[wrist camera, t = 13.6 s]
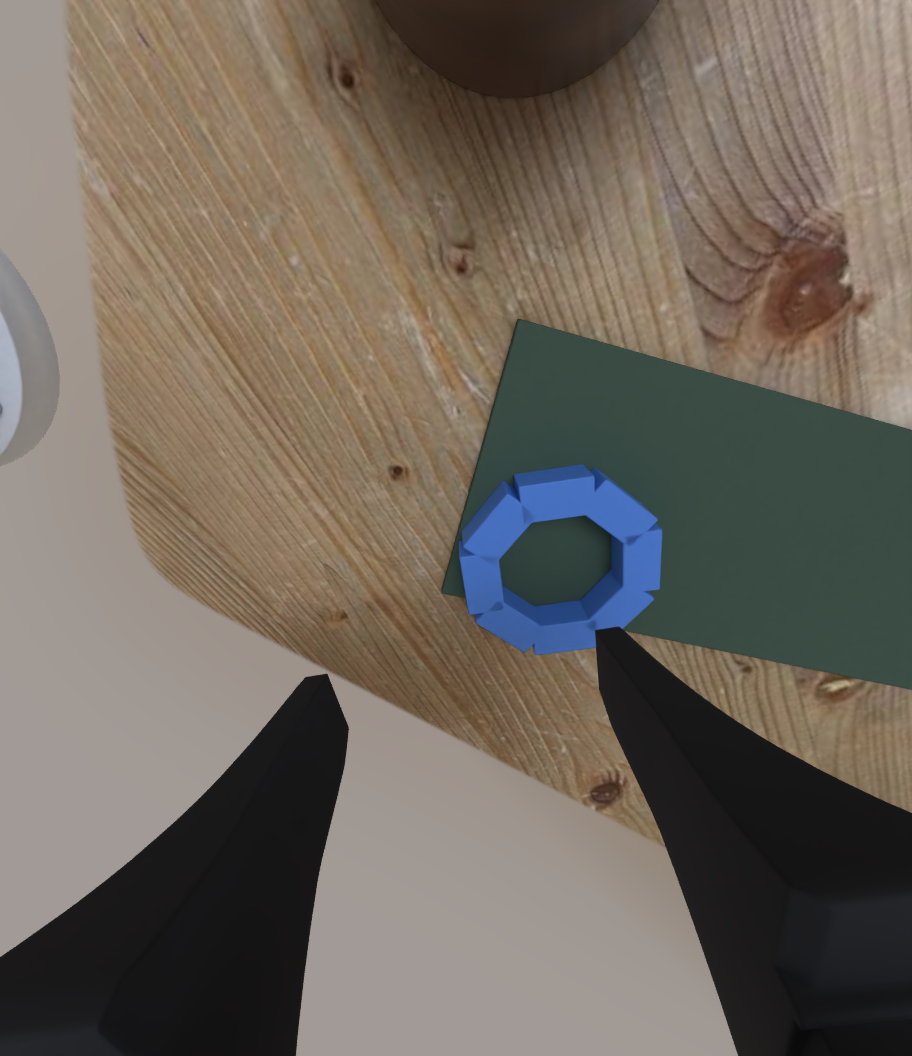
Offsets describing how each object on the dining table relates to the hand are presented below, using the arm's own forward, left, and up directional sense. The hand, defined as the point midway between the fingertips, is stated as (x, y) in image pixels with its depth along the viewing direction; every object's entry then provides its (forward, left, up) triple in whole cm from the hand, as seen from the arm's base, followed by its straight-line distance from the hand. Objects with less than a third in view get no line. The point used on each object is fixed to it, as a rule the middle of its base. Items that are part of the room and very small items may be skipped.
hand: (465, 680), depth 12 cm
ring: (+4, -2, -9) cm, 10 cm away
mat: (+19, -6, -9) cm, 22 cm away
